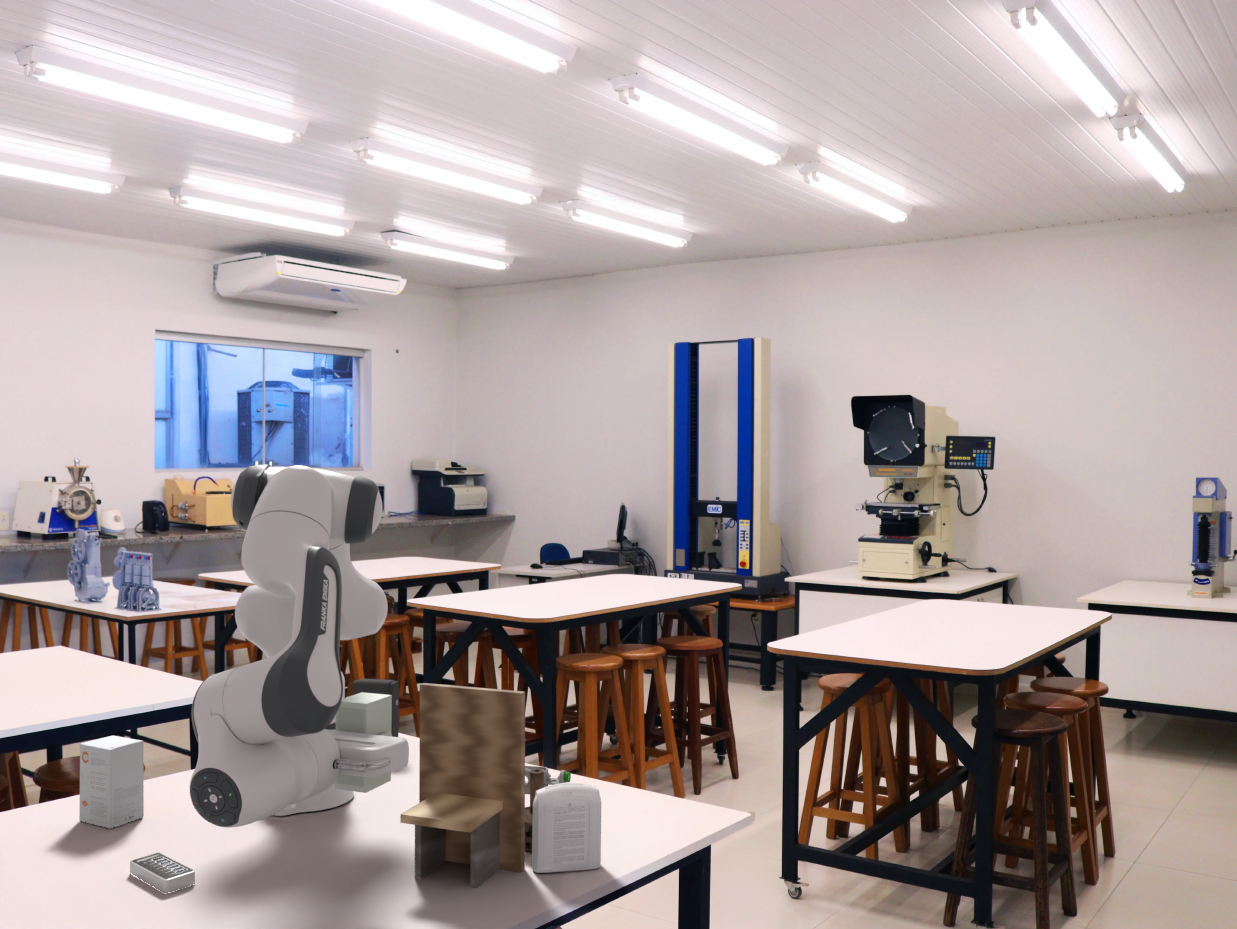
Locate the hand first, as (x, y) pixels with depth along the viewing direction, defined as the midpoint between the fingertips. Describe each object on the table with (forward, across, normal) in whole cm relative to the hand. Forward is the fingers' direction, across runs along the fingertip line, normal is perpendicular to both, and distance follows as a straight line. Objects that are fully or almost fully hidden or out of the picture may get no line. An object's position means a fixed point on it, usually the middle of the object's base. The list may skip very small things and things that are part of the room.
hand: (367, 735), depth 139 cm
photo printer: (+17, -23, +21) cm, 36 cm away
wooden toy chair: (+8, -9, +21) cm, 25 cm away
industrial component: (+22, -16, +21) cm, 34 cm away
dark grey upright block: (+58, +37, +21) cm, 72 cm away
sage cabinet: (-1, 0, +7) cm, 7 cm away
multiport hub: (-7, +29, +22) cm, 37 cm away
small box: (+8, +56, +22) cm, 60 cm away
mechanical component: (+29, -13, +21) cm, 38 cm away
